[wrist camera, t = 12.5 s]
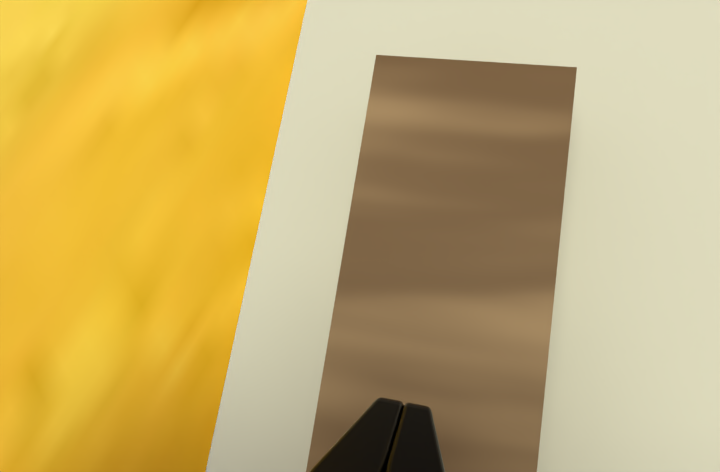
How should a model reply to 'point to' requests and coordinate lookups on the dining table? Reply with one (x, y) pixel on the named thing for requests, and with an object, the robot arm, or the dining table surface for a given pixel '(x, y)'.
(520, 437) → the block
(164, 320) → the dining table surface
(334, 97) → the mat
